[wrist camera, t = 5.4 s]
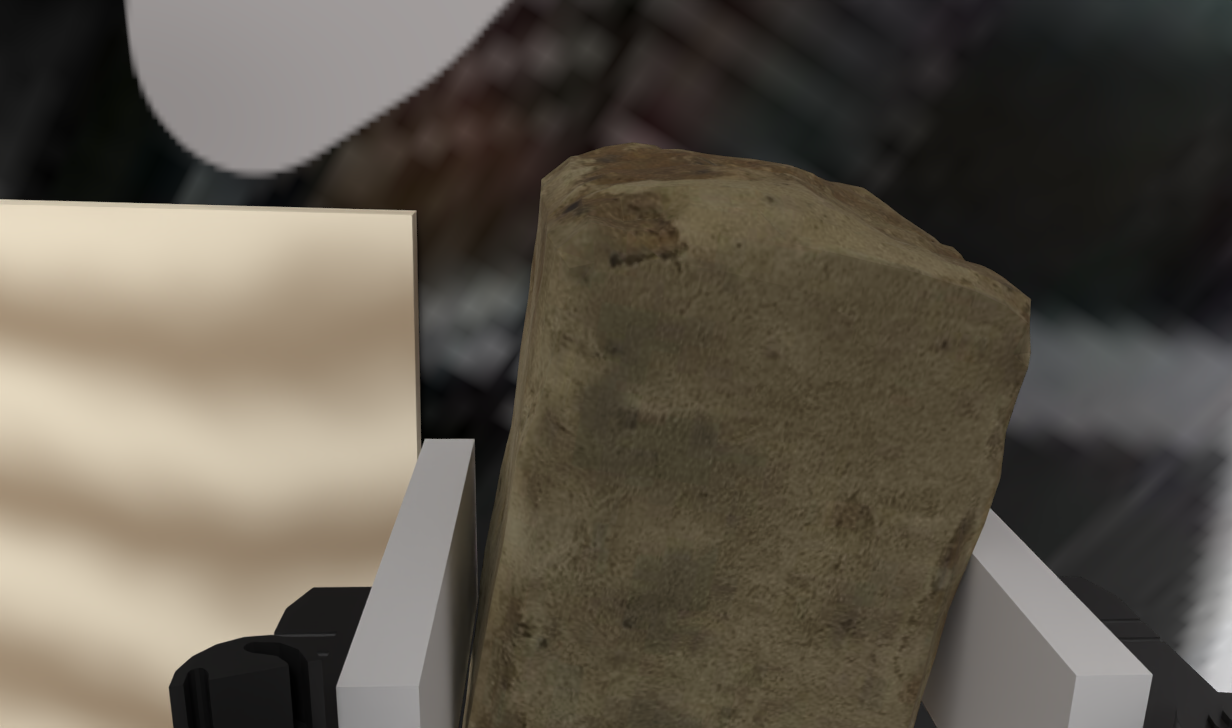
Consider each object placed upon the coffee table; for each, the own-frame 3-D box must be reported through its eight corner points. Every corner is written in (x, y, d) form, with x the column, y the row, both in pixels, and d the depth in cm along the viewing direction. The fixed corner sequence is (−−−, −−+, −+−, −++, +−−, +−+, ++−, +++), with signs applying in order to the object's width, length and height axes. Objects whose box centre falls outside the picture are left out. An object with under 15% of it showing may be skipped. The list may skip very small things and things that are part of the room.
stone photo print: (-91, 196, 30) (-112, 201, 30) (416, 210, 31) (411, 215, 30) (-1, 766, 36) (-17, 785, 35) (427, 763, 37) (423, 781, 36)
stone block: (453, 784, 18) (414, 1044, 13) (546, 118, 15) (540, 140, 10) (774, 815, 18) (849, 1076, 14) (926, 180, 15) (1092, 228, 11)
